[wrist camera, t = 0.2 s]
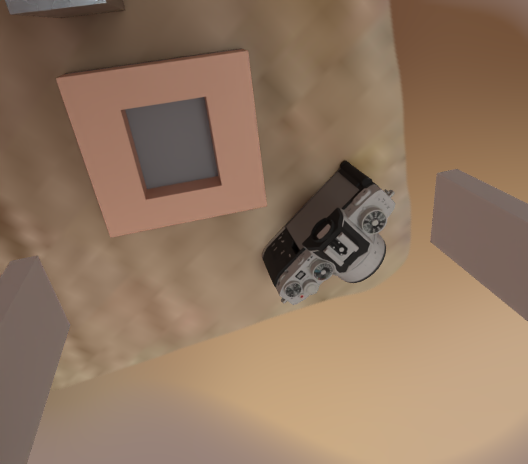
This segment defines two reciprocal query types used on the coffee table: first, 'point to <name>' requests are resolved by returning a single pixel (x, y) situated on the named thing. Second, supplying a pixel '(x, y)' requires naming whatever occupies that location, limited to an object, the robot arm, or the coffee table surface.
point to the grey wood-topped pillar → (63, 7)
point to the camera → (331, 236)
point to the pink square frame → (168, 139)
